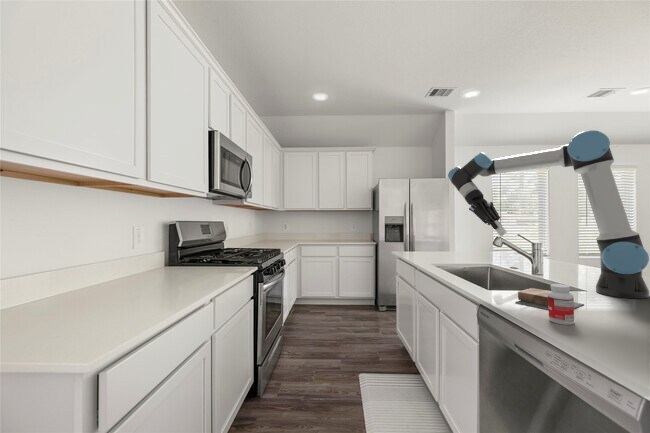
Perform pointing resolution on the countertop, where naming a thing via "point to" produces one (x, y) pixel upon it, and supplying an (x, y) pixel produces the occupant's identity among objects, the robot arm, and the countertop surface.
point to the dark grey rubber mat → (543, 305)
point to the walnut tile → (534, 296)
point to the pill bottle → (561, 304)
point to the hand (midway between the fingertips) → (503, 234)
